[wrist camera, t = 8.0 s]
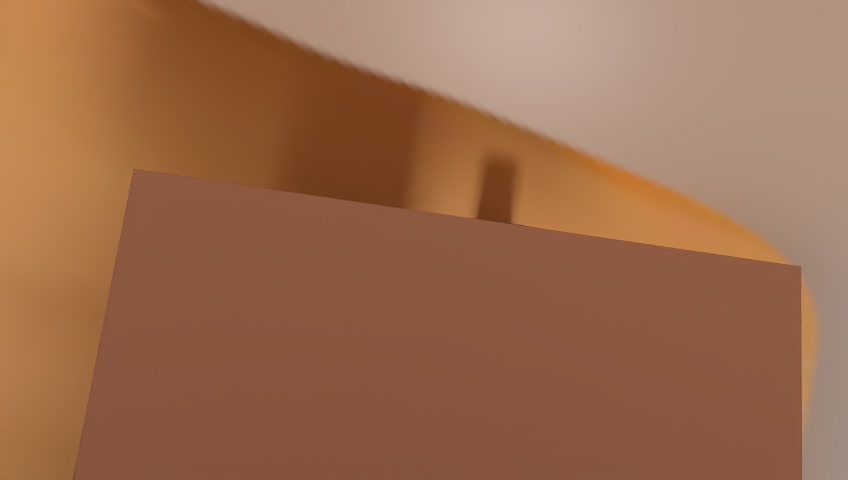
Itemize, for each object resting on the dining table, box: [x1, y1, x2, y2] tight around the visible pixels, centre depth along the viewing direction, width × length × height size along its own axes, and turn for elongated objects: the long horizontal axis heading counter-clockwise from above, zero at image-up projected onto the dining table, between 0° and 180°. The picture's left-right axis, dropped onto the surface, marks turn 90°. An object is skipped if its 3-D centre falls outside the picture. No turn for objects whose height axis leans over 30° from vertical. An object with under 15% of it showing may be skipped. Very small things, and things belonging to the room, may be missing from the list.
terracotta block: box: [73, 169, 802, 480], centre depth 10 cm, size 5×5×12 cm
